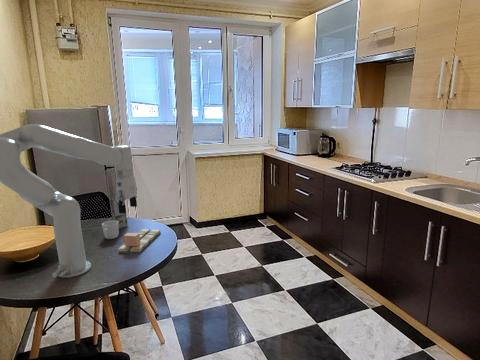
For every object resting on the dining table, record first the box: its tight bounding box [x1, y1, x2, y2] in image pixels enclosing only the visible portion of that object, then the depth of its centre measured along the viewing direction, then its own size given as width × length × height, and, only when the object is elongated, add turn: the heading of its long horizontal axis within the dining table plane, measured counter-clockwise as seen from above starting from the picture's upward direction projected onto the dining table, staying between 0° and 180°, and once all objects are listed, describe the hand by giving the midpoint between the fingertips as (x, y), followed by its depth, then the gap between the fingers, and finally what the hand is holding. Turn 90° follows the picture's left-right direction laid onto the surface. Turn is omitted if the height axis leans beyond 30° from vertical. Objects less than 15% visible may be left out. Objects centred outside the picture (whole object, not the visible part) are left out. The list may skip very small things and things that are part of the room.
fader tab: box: [123, 232, 140, 247], centre depth 145 cm, size 4×6×6 cm, turn 81°
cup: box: [101, 220, 120, 240], centre depth 159 cm, size 11×8×8 cm
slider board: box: [117, 228, 161, 255], centre depth 154 cm, size 24×10×2 cm, turn 171°
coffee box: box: [109, 196, 128, 229], centre depth 176 cm, size 9×6×16 cm
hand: (128, 209), depth 144 cm, fingers open, 9 cm apart
